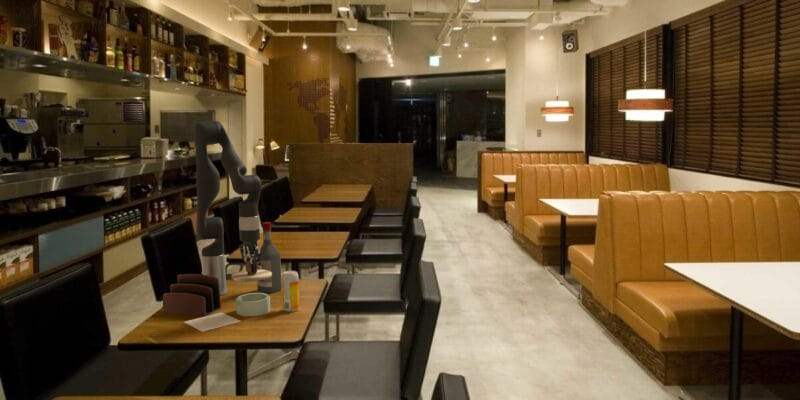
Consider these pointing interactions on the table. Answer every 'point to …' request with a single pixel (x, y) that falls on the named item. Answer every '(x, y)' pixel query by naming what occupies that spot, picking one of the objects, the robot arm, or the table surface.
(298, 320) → the table surface
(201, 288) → the letter holder
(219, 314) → the mat
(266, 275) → the lid
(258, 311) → the bowl
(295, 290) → the beer can
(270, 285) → the liquor
